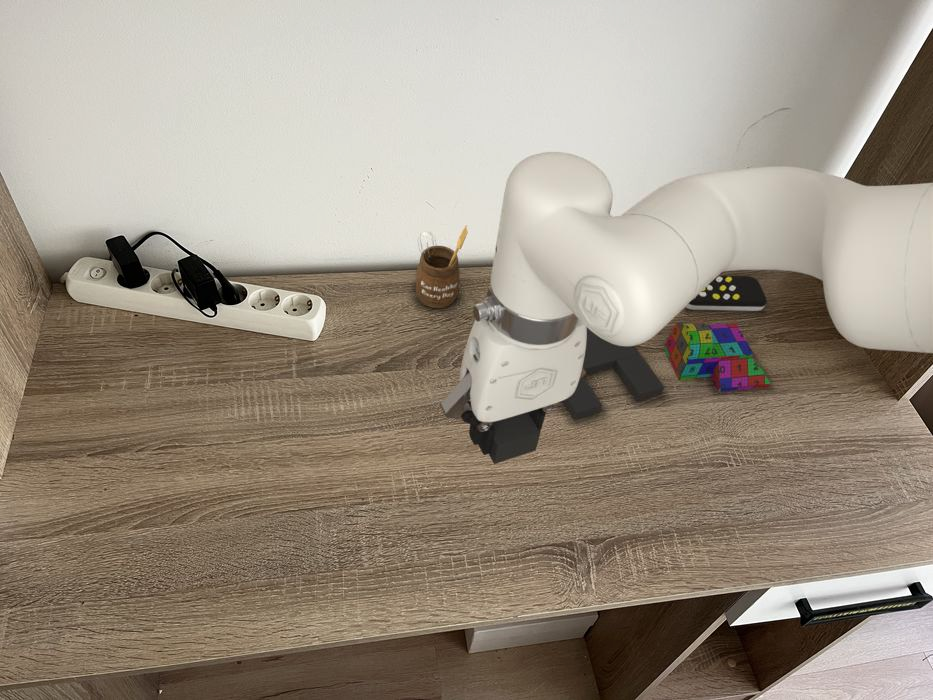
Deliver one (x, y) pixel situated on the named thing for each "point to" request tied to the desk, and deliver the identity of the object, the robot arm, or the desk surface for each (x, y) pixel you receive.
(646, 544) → the desk surface
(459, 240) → the utensil holder
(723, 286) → the remote control
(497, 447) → the small black box
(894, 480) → the desk surface
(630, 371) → the big pad
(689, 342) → the block
